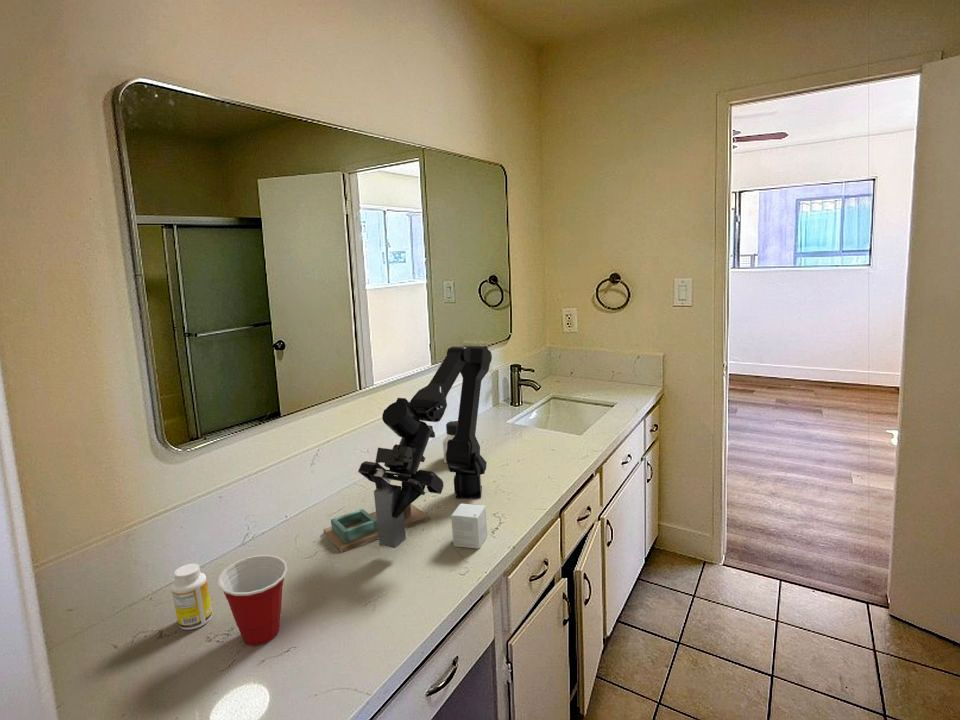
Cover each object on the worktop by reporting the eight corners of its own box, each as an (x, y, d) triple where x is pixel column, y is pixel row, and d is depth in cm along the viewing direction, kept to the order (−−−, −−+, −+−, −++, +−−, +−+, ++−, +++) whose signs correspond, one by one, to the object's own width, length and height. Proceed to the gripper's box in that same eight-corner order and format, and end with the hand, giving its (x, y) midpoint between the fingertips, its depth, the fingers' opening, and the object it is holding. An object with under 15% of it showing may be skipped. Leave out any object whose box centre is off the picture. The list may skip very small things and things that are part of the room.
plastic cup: (255, 666, 88) (244, 597, 85) (214, 644, 93) (203, 579, 91) (309, 625, 97) (300, 563, 94) (268, 607, 102) (260, 548, 100)
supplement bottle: (204, 607, 103) (196, 557, 102) (218, 618, 100) (209, 567, 98) (173, 623, 99) (163, 571, 97) (186, 636, 96) (176, 582, 94)
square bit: (390, 535, 119) (385, 483, 117) (406, 539, 118) (401, 486, 115) (379, 544, 116) (373, 491, 114) (394, 548, 114) (389, 494, 112)
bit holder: (407, 504, 142) (406, 491, 141) (429, 519, 133) (428, 505, 132) (323, 533, 129) (322, 519, 128) (342, 552, 120) (340, 537, 120)
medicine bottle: (467, 463, 167) (464, 425, 164) (444, 463, 168) (441, 425, 166) (472, 455, 174) (469, 418, 171) (449, 454, 175) (447, 418, 173)
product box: (488, 535, 124) (486, 505, 122) (479, 550, 118) (477, 518, 117) (462, 532, 126) (460, 502, 124) (452, 546, 120) (450, 515, 119)
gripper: (359, 425, 120) (329, 494, 113) (432, 434, 111) (404, 509, 104) (384, 448, 128) (358, 513, 121) (454, 458, 120) (430, 528, 112)
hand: (385, 515), depth 114 cm, fingers closed on square bit, 4 cm apart
